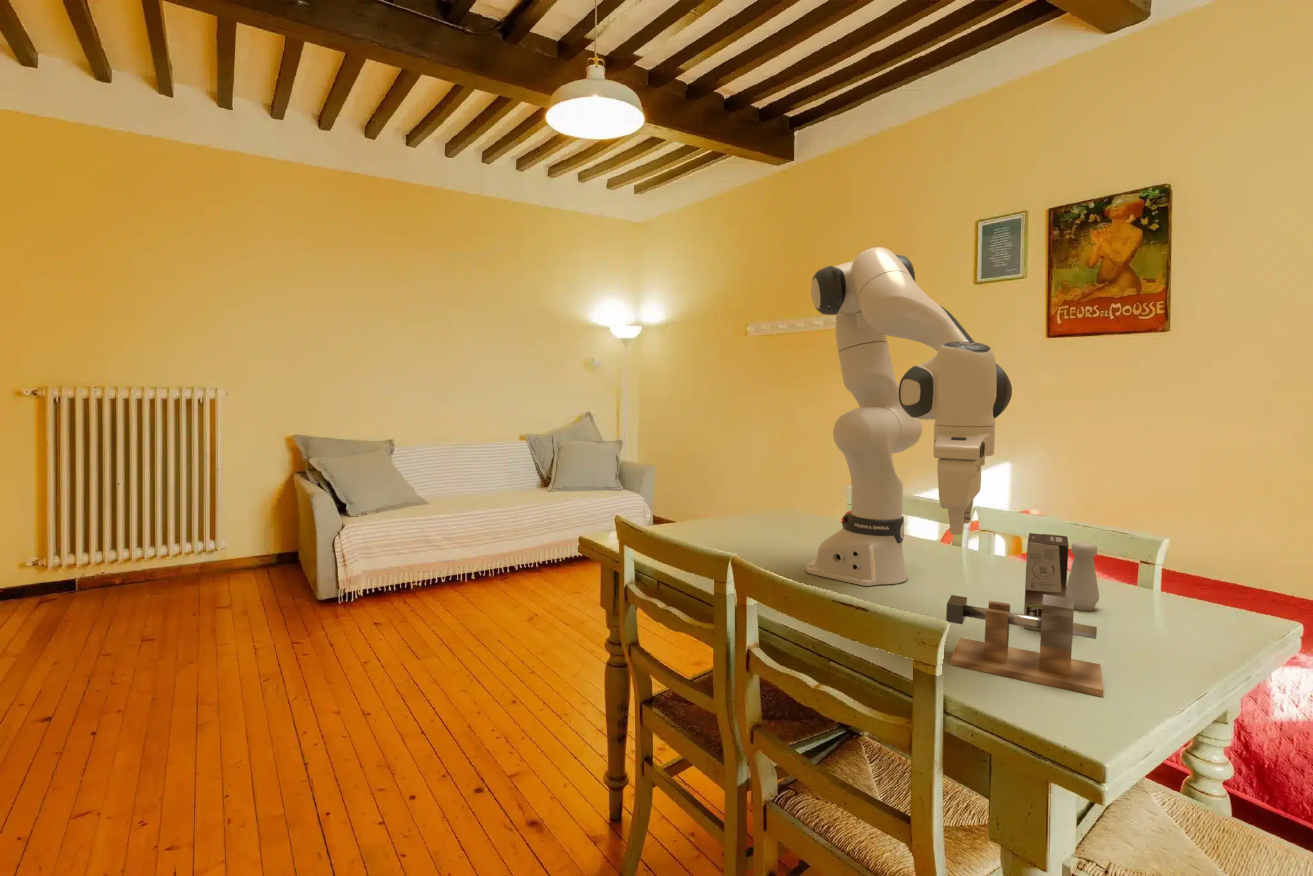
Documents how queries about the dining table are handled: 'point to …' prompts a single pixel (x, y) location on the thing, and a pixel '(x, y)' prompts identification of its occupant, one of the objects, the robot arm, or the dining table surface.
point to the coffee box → (1045, 570)
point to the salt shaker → (1083, 577)
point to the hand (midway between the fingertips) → (960, 528)
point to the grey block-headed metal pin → (960, 610)
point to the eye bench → (1028, 665)
